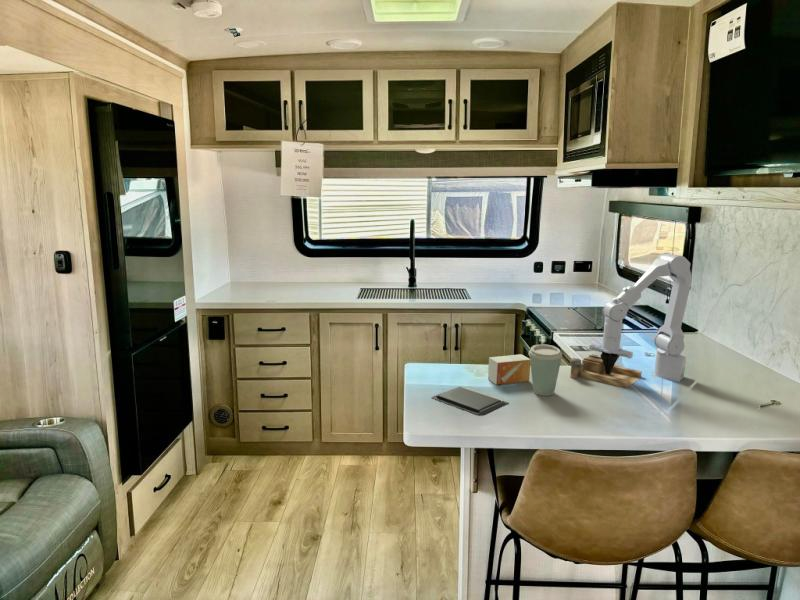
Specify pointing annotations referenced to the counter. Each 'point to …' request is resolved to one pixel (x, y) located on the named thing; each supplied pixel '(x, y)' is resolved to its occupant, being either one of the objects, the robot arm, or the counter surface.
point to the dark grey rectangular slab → (470, 401)
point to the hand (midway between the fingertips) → (608, 373)
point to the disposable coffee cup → (544, 368)
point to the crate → (594, 364)
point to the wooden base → (617, 376)
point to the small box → (509, 369)
